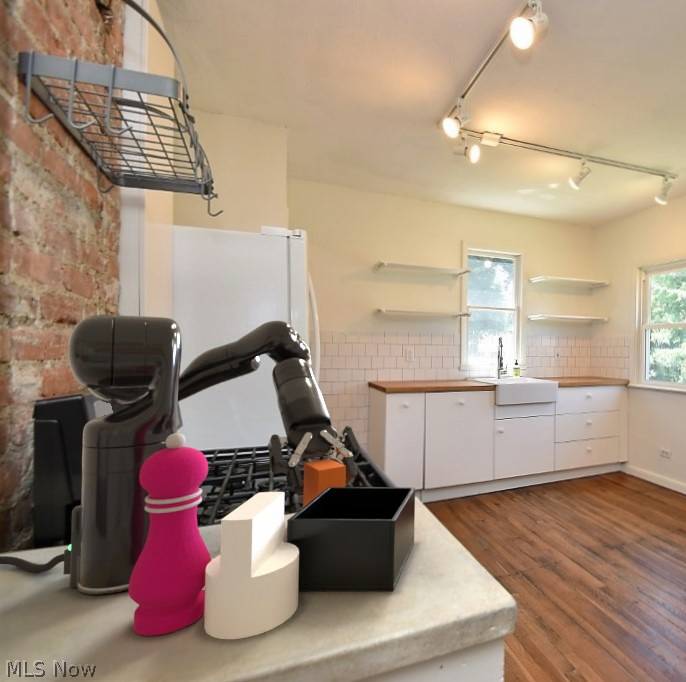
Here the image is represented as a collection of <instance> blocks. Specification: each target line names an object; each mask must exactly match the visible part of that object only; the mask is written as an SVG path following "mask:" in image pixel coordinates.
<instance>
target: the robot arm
mask: <svg viewBox="0 0 686 682" xmlns="http://www.w3.org/2000/svg"><path fill="white" fill-rule="evenodd" d="M182 350H183V336H182V330H181V328H180V326H179V323H178V322H177V321H176V320H175V319H174V318H170V317H163V316H142V315H121V314H115V315H114V314H97V315H90V316H87V317H85V318H83V319H81V320H80V321H78V323H76V324H75V326H74V328H73V329H72V331H71V333H70V335H69V339H68V343H67V360H68V365H69V368H70V371H71V373H72V376H73V377H74V379H75V381H76V382H77V383H78V384H79V385H80V386H81V387H84V388H86V389H87V391H88V392H89V393H90V394H92V395H93V396H94V397H96V398H97V399H99V400H101V401H103V402H106V403H110V404H111V406H112V410H113V413H111V414H108V415H104V416H101V417H100V416H98V417H95V418H93V419H91V420H89V421H88V422H87V423H85V425H84V427H83V431H82V453H81V454H82V455H81V490H80V492H81V493H80V505H77V506H74V508H73V509H72V511H71V535H70V544H69V545H68V548H66V549H64V550H63V553H61V554H59V555H56V556H54V557H53V558H51V559H50V560H49V561H48V562H46V563H40V564H39V563H34V562H31V561H28V560H26V559H24V558H20V557H16V556H9V555H0V565H7V566H12V567H16V568H18V569H19V568H20V569H21V570H24V571H27V572H30V573H43V572H47V571H50V570H52V569H53V568H54V567H56V566H57V565H58V564H61V563H63V575H69V588H75V589H76V588H77V590H78V591H79V592H80V593H82V594H86V595H105V594H113V593H120V592H125V591H129V582H130V578H131V575H132V572H133V569H134V566H135V564H136V562H137V560H138V558H139V556H140V554H141V552H142V550H143V548H144V546H145V543H146V540H147V537H148V534H149V526H150V515H149V512H147V511H145V509H144V508H145V506H146V502H145V498H146V497H147V496H148V495H150V494H149V493H148V492H147V491H146V490H145V489H144V488H143V487H142V486H141V484H140V479H139V475H140V469H141V467H142V465H143V463H144V462H145V460H146V459H147V458H149V457H150V456H151V455H152V454H154V453H156V452H158V451H160V450H163V449H166V448H168V447H167V446H166V439H167V438H168V436H170V435H171V434H174V433H178V403H180V402H182V401H184V400H186V399H189V398H191V397H193V396H195V395H196V394H199V393H201V392H203V391H205V390H208V389H210V388H212V387H214V386H217V385H220V384H223V383H226V382H229V381H233V380H236V379H238V378H241V377H244V376H248V375H249V374H252V373H254V372H256V371H258V369H259V368H260V366H261V356H262V355H267V356H268V358H270V359H271V360H272V361H273V362H274V363H275V365H274V367H273V369H272V372H271V376H272V377H271V378H272V383H273V387H274V390H275V393H276V396H277V397H276V399H277V407H278V410H279V413H280V418H281V421H282V424H283V429H284V432H285V435H286V436H279V435H278V434H275V433H274V434H272V435H271V437H270V439H269V441H268V443H267V450H268V456H269V462H270V467H271V473H273V474H275V475H277V474H279V473H282V474H285V475H286V477H287V481H288V485H289V488H290V490H291V492H294V493H295V494H296V495H299V494H302V493H303V490H304V479H303V477H302V474H301V470H300V467H299V466H298V464H299V462H300V460H301V459H302V458H305V459H306V460H310V459H313V458H324V457H328V458H329V459H332V460H335V461H336V462H338V463H341V464H343V465H345V466H346V475H345V481H346V482H347V483H348V484H350V483H353V482H354V481H355V479H356V476H357V475H358V469H357V467H356V464H355V462H354V461H356V460H357V458H358V457H359V455H360V454H361V451H362V448H361V446H360V444H359V442H358V440H357V438H356V435H355V433H354V430H353V428H352V427H351V426H350V425H346V426H345V427H344V429H338V430H336V429H335V428H334V427H333V425H332V420H331V416H330V414H329V411H328V408H327V405H326V402H325V398H324V397H323V394H322V391H321V389H320V387H319V386H318V384H317V383H318V382H317V380H316V378H315V374H314V372H313V370H312V369H313V368H312V357H311V350H310V348H309V346H308V344H307V342H306V340H305V339H304V338H303V337H302V336H301V335H300V334H299V333H298V331H296V330H295V328H293V326H291V324H290V323H288V322H286V321H283V320H271V321H266V322H264V323H262V324H260V325H259V326H257V327H256V328H254V329H253V330H251V331H250V332H248V333H246V334H245V335H243V336H241V337H240V338H239V339H237V340H235V341H232V342H229V343H226V344H223V345H220V346H217V347H214V348H210V349H208V350H206V351H204V352H202V353H201V354H199V355H198V356H197V357H195V358H194V359H193V360H192V361H191V362H190V363H189V364H188V365H187V366H186V367H185V369H184V370H183V371H182V372H181V363H182V353H183V352H182ZM180 372H181V373H180ZM92 395H91V396H92ZM338 439H339V440H340V441H339V440H338ZM285 446H286V447H287V448H289V449H290V450H292V451H293V452H294V453H293V454H292V456H291V458H290V459H289V461H285V460H284V455H283V449H284V447H285ZM332 447H333V448H334V450H333V449H332Z"/></svg>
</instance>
